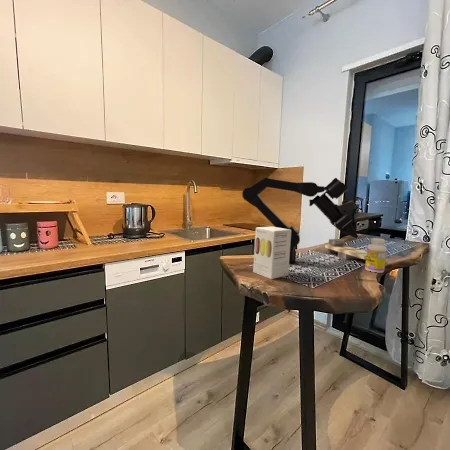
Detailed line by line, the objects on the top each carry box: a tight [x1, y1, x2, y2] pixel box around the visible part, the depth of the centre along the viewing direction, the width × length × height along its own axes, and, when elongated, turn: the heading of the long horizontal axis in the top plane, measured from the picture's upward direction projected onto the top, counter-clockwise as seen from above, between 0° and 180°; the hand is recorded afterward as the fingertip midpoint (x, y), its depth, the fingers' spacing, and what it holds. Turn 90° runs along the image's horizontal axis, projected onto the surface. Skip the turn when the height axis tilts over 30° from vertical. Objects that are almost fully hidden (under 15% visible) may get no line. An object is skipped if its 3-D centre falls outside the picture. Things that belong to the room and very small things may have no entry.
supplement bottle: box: [364, 237, 388, 274], centre depth 100 cm, size 7×7×13 cm
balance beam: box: [324, 238, 367, 261], centre depth 121 cm, size 24×10×7 cm, turn 19°
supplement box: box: [252, 225, 291, 280], centre depth 92 cm, size 10×9×17 cm
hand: (354, 235), depth 102 cm, fingers open, 9 cm apart
